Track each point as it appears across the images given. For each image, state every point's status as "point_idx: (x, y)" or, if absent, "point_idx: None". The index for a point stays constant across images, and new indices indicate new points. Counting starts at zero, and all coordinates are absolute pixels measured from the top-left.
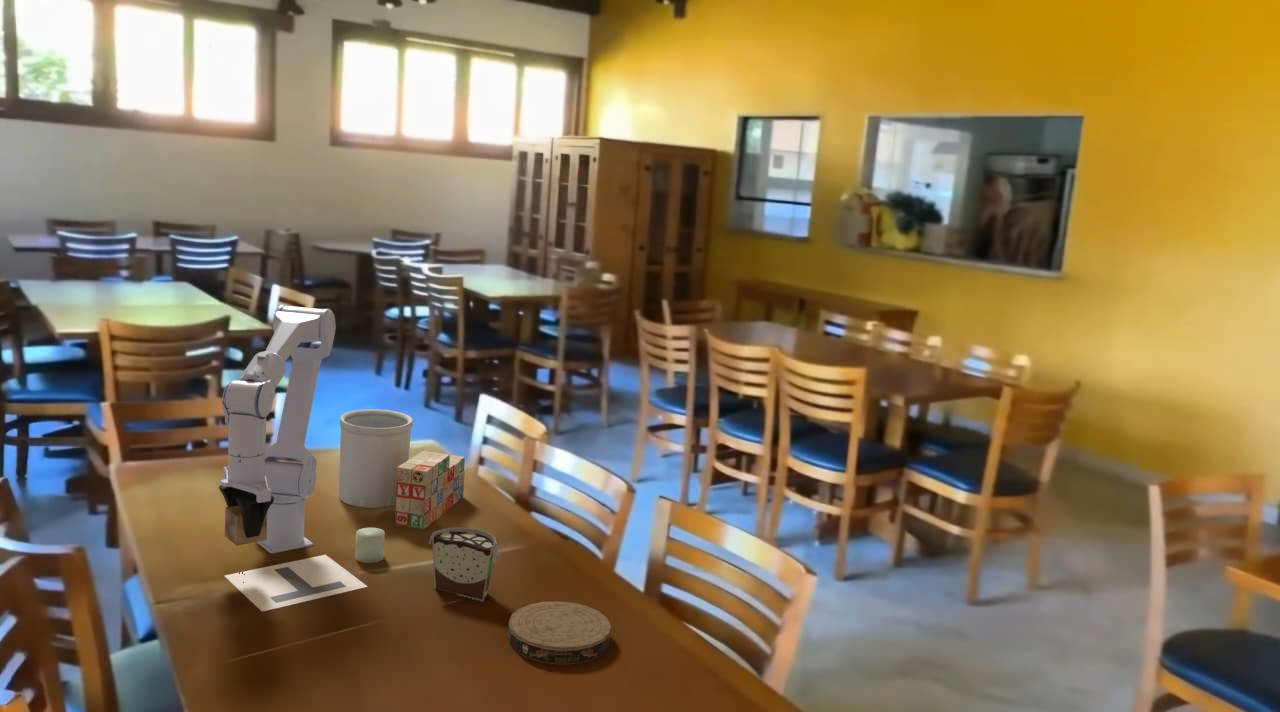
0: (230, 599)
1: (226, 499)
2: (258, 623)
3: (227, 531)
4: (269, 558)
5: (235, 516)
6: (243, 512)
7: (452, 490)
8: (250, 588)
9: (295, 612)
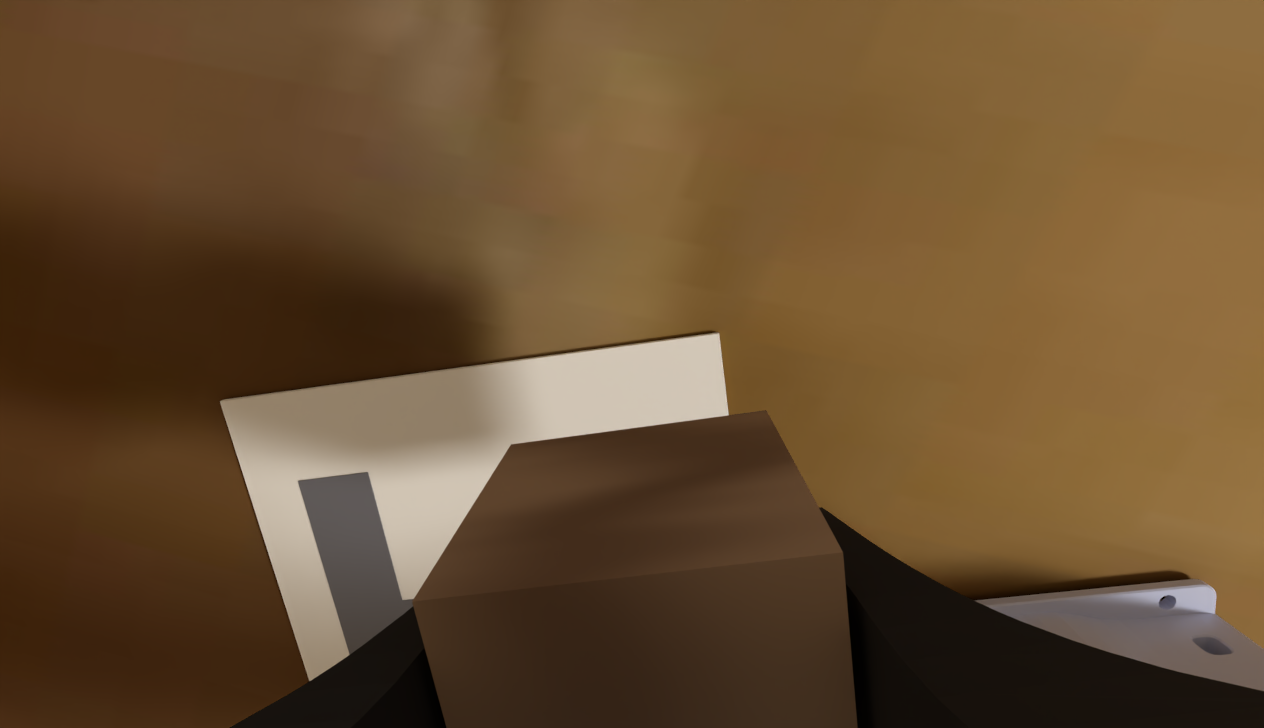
0: (420, 300)
1: (955, 650)
2: (117, 358)
3: (714, 440)
4: None
5: (466, 588)
6: (279, 720)
7: None
8: (501, 416)
9: (195, 527)
